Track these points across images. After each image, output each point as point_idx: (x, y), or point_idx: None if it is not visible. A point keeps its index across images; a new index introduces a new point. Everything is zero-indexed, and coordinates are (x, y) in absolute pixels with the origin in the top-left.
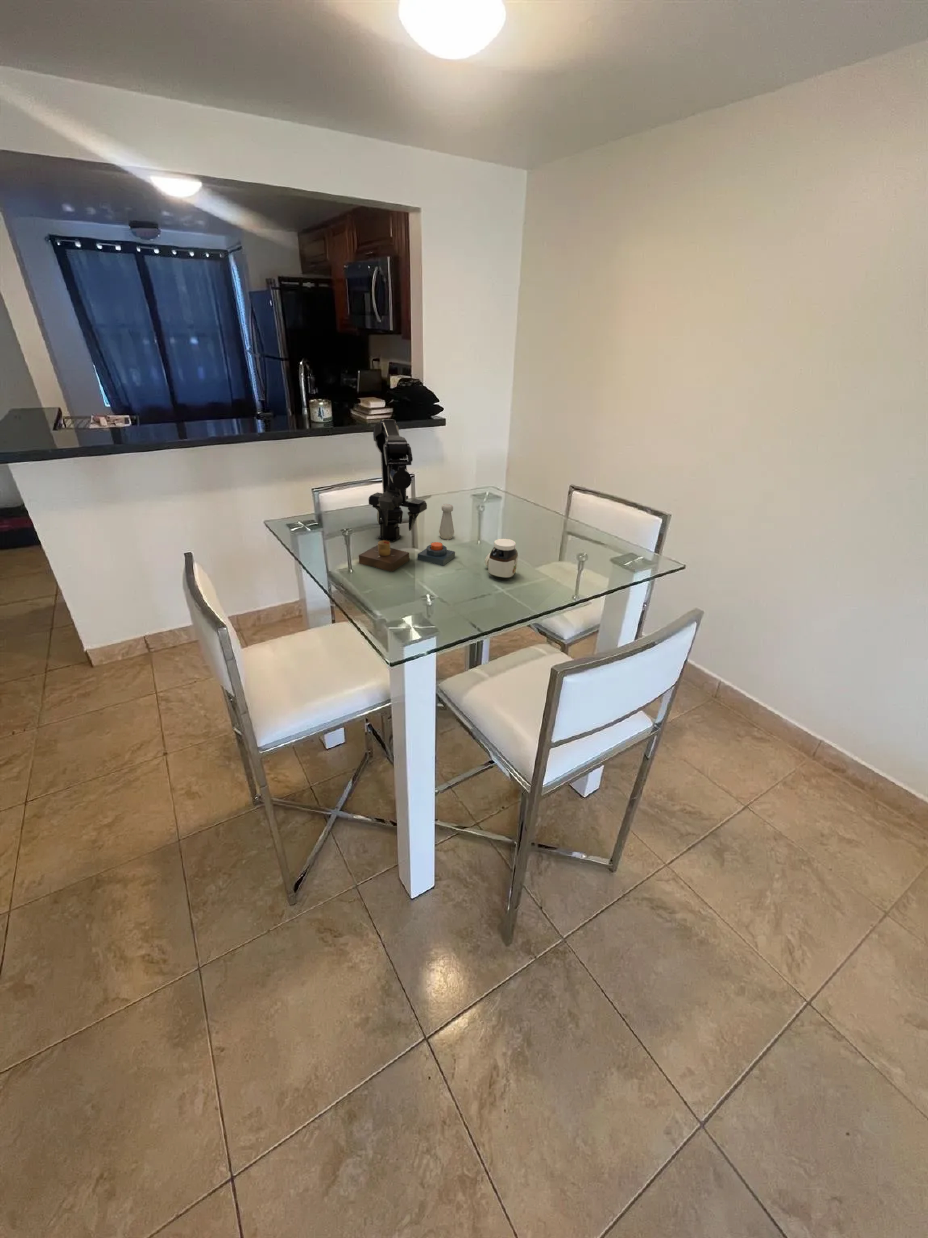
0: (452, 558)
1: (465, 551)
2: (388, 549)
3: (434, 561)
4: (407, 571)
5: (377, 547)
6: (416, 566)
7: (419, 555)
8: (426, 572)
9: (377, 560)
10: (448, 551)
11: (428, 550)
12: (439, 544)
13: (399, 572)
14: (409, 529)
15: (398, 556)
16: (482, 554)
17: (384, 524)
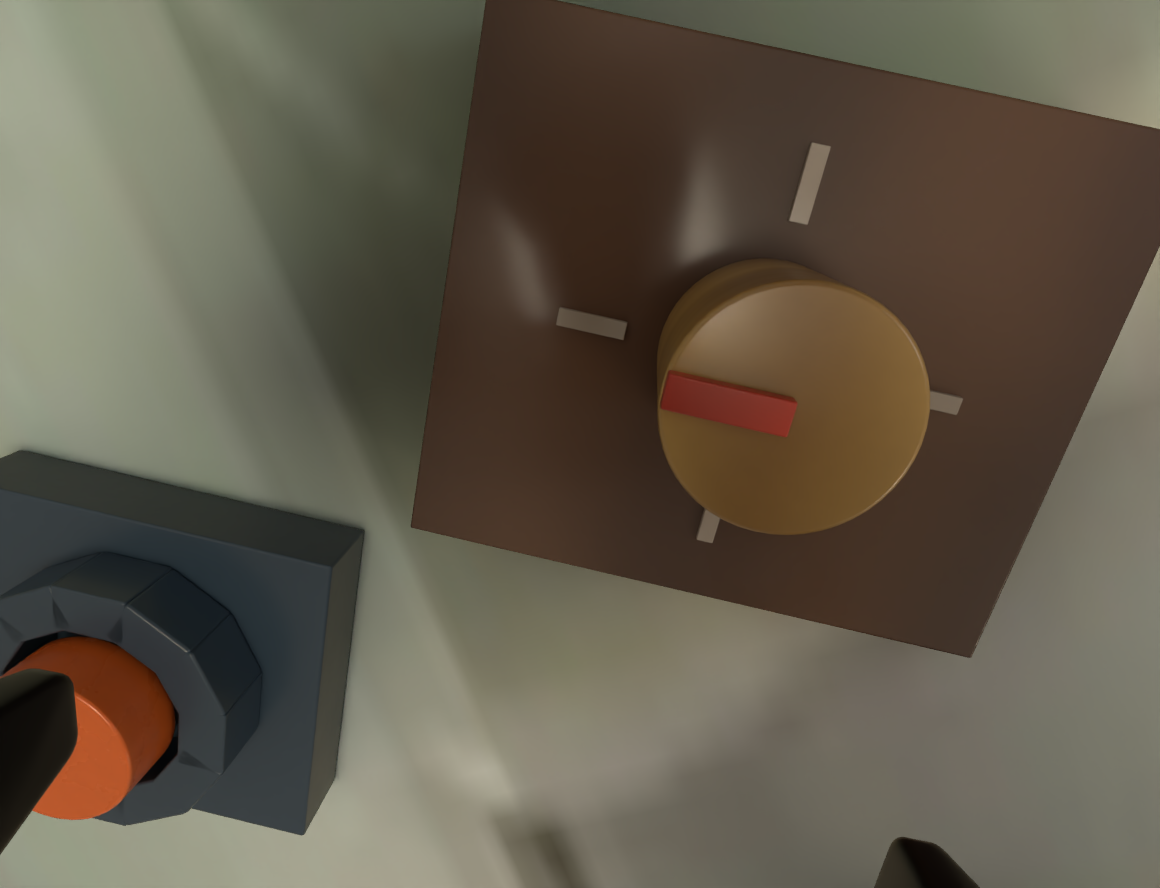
0: None
1: (23, 861)
2: (666, 336)
3: (109, 487)
4: (324, 130)
5: (943, 563)
6: (290, 336)
7: (308, 553)
8: (93, 193)
9: (787, 52)
10: None
11: (152, 614)
12: None
13: (410, 49)
14: (12, 683)
15: (498, 327)
16: None
17: (951, 869)
